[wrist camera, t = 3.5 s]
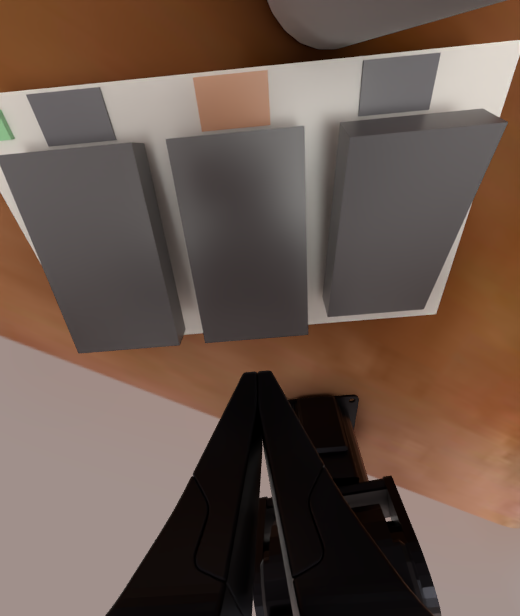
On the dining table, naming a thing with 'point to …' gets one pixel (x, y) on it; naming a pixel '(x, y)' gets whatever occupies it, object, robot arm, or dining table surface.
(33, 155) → the block
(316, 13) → the beverage can
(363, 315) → the rocker switch panel
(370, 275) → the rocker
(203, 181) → the block
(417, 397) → the dining table surface
